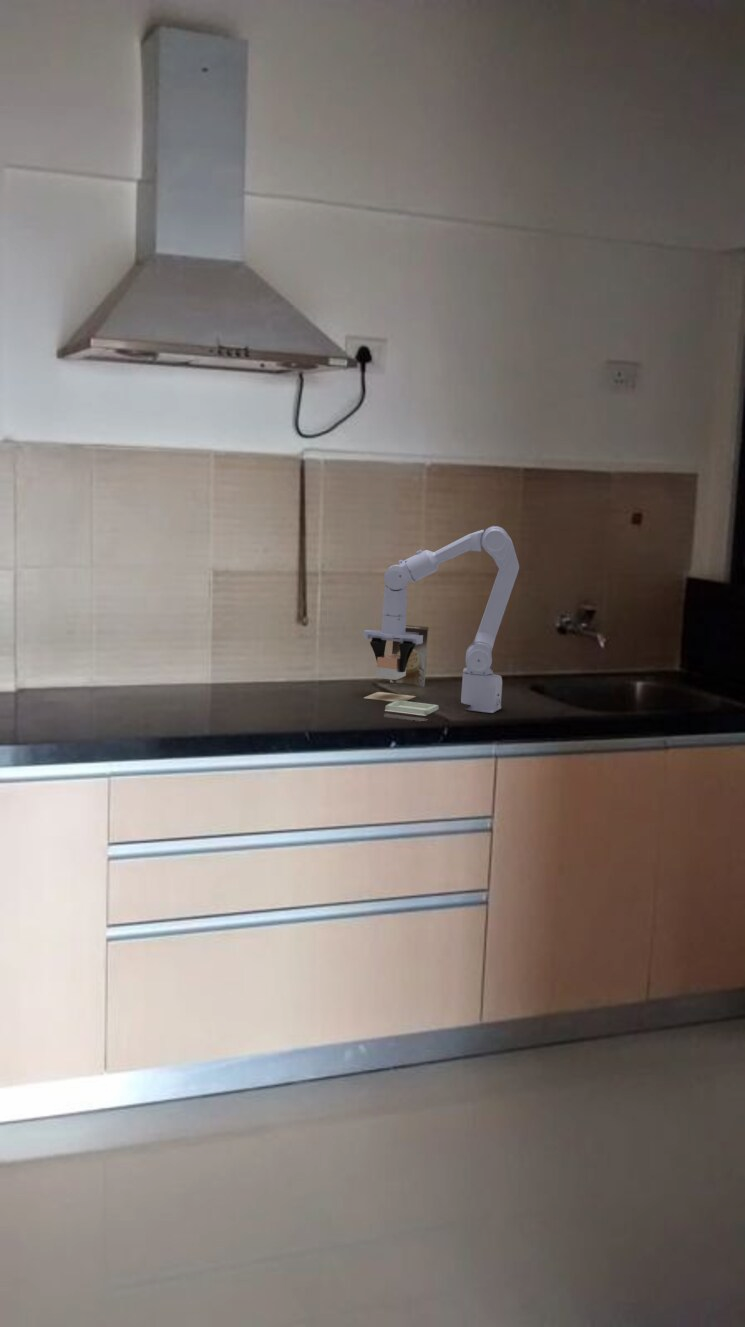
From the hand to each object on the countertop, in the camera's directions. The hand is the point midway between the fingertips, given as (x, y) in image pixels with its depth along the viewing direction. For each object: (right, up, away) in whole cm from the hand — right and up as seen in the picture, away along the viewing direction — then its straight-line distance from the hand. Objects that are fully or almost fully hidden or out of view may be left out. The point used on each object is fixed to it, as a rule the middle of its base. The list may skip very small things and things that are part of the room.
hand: (391, 670), depth 321 cm
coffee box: (+4, -5, +25) cm, 26 cm away
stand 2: (+4, -10, -13) cm, 17 cm away
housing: (0, -1, 0) cm, 2 cm away
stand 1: (0, -8, +1) cm, 8 cm away
